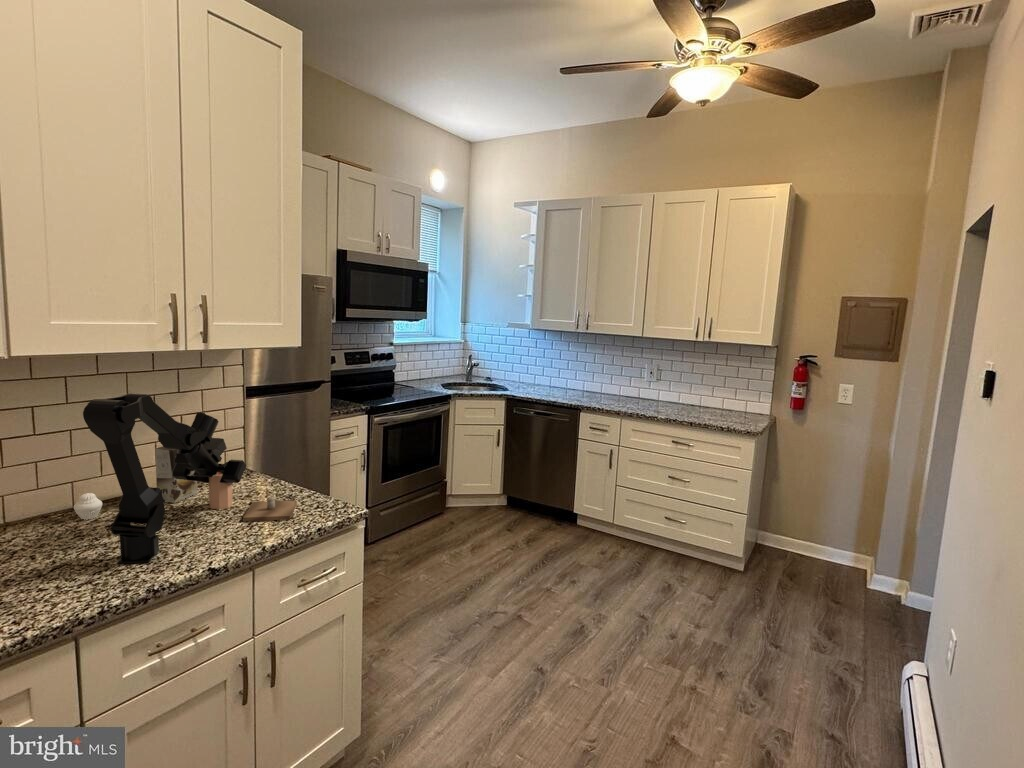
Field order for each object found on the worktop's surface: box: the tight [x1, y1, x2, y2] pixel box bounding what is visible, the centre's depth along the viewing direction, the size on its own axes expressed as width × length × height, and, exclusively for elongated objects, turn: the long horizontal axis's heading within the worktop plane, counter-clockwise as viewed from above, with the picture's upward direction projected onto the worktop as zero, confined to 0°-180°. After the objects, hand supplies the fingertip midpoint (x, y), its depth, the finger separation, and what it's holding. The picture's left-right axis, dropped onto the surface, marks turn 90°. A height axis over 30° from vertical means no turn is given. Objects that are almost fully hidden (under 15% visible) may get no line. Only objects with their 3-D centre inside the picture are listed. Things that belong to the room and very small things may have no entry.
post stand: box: [242, 496, 298, 523], centre depth 158 cm, size 12×12×5 cm
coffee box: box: [154, 445, 198, 504], centre depth 165 cm, size 9×6×16 cm
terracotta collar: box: [208, 472, 234, 510], centre depth 161 cm, size 6×6×10 cm
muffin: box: [73, 492, 103, 521], centre depth 149 cm, size 6×6×7 cm
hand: (222, 482), depth 162 cm, fingers closed on terracotta collar, 6 cm apart
